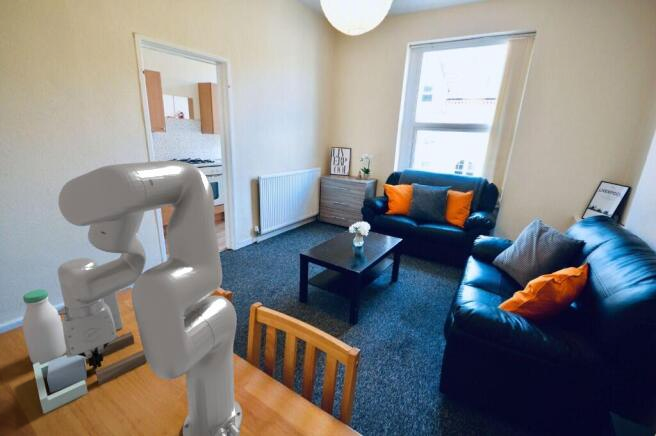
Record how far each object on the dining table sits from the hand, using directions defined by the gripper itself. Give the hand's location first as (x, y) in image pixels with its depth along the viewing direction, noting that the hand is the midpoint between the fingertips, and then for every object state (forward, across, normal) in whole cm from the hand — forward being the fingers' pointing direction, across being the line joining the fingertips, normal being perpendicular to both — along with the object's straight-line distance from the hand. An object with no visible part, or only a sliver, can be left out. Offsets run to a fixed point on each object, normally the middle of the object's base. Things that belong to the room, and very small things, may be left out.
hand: (96, 365), depth 79 cm
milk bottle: (+1, -8, +15) cm, 17 cm away
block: (+2, -6, +2) cm, 6 cm away
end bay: (+1, -6, 0) cm, 7 cm away
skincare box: (+1, +7, +19) cm, 20 cm away
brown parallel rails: (+1, +5, 0) cm, 5 cm away
